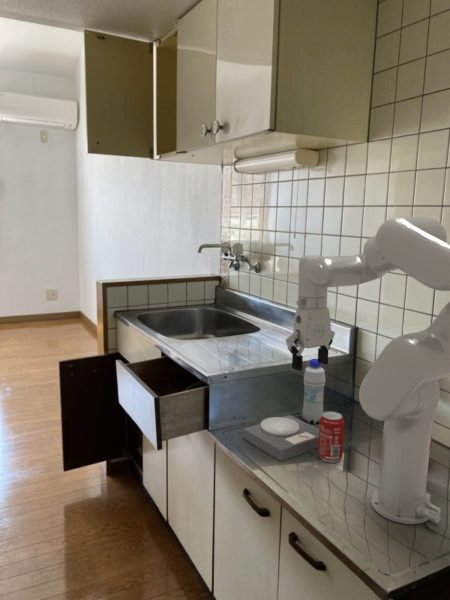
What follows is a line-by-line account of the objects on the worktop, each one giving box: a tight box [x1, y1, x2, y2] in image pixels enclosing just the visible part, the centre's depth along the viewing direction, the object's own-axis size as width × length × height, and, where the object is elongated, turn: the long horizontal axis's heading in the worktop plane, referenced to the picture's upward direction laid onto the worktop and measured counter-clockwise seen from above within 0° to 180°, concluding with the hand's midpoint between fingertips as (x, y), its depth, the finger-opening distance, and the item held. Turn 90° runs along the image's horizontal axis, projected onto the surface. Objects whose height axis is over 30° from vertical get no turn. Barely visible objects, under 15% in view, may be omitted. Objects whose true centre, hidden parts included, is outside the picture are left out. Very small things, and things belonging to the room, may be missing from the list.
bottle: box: [302, 358, 326, 424], centre depth 148 cm, size 7×7×20 cm
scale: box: [242, 414, 319, 462], centre depth 135 cm, size 16×18×4 cm
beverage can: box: [317, 411, 345, 464], centre depth 125 cm, size 6×6×12 cm
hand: (310, 366), depth 127 cm, fingers open, 9 cm apart
